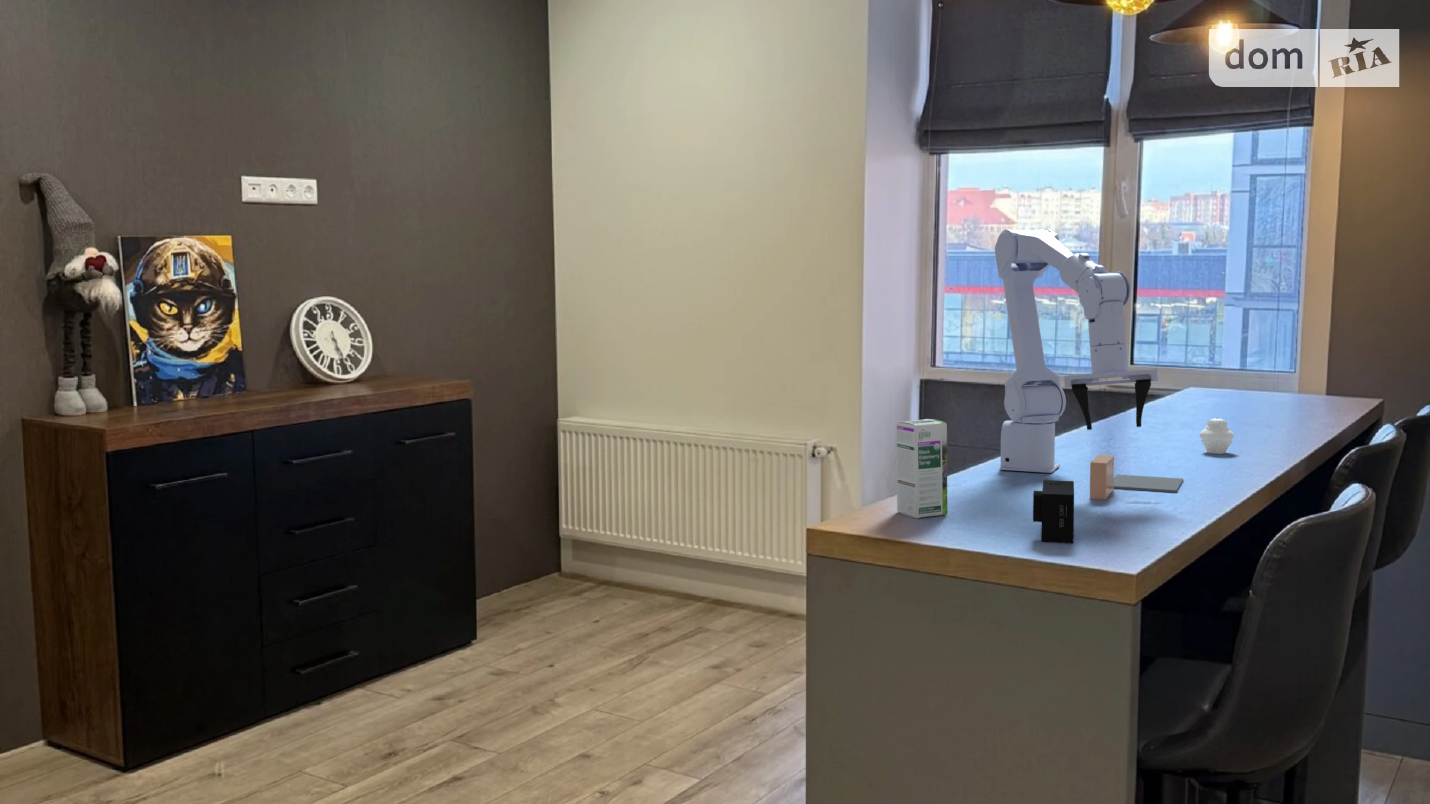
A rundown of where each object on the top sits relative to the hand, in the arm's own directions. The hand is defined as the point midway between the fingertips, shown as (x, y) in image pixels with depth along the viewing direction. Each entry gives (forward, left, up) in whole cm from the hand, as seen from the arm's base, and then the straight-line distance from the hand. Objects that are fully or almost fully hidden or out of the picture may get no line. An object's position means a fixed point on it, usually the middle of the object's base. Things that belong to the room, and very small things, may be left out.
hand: (1114, 428), depth 195 cm
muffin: (+13, +48, -11) cm, 50 cm away
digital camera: (-3, -32, -11) cm, 34 cm away
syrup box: (-24, -26, -11) cm, 38 cm away
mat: (+4, +10, -11) cm, 15 cm away
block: (-1, -1, -11) cm, 11 cm away
